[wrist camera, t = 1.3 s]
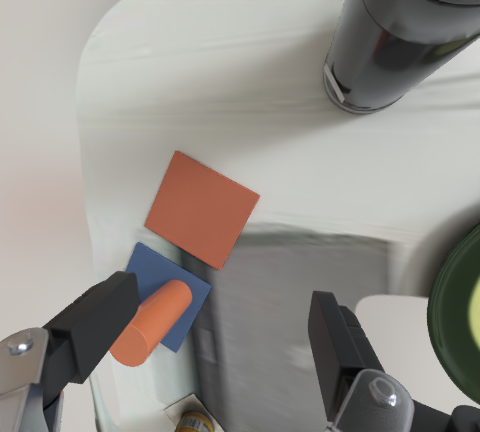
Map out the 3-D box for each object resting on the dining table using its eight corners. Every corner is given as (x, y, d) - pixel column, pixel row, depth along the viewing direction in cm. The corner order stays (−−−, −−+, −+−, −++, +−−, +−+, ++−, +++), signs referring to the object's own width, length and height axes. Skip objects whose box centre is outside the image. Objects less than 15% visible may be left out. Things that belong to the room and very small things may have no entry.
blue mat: (139, 241, 36) (136, 243, 35) (212, 286, 34) (210, 287, 34) (112, 307, 39) (109, 309, 38) (177, 350, 37) (175, 353, 37)
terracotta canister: (169, 273, 35) (115, 314, 24) (197, 290, 34) (155, 340, 24) (156, 299, 36) (100, 349, 25) (184, 316, 35) (138, 375, 25)
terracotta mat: (177, 151, 32) (175, 150, 32) (260, 195, 31) (259, 195, 30) (146, 225, 35) (143, 226, 35) (220, 269, 34) (219, 271, 33)
